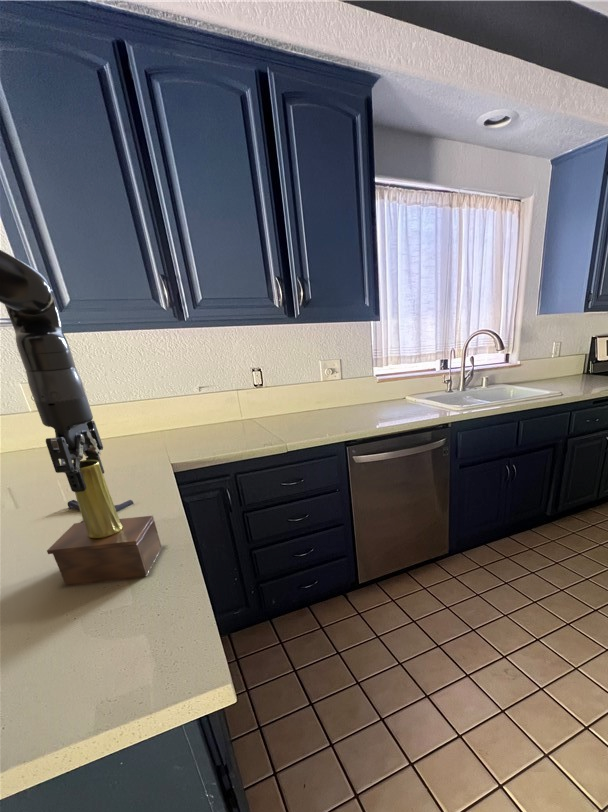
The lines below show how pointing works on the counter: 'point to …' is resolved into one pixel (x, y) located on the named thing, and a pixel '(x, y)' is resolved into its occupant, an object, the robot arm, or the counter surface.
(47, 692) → the counter surface
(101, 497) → the vase
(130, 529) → the lid
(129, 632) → the counter surface
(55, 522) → the counter surface
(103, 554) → the chest
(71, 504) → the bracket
